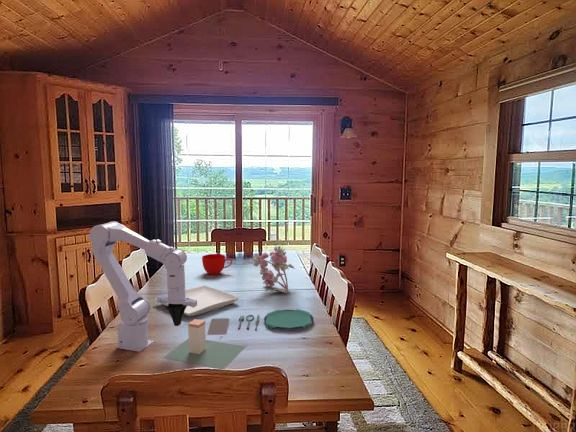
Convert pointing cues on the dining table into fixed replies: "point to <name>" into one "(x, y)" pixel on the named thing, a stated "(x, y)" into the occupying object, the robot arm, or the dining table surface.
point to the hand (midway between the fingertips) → (177, 324)
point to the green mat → (207, 354)
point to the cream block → (197, 336)
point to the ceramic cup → (214, 263)
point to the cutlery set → (284, 319)
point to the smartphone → (218, 326)
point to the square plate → (206, 299)
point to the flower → (277, 263)
